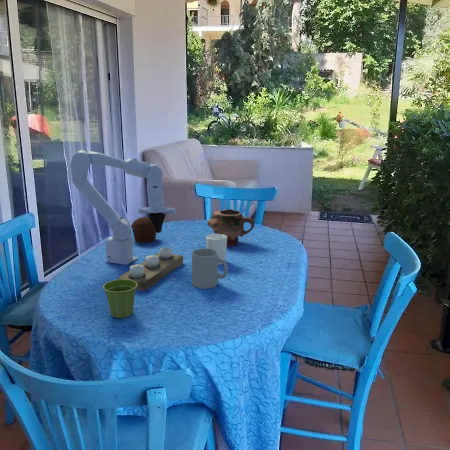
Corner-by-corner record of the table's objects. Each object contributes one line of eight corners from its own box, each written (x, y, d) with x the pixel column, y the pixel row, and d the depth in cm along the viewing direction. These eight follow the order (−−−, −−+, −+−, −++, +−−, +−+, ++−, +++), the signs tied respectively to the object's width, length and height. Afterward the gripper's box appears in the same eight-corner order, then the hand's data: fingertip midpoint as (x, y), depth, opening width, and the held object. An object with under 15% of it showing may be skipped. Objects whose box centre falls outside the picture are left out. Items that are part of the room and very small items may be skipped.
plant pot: (107, 306, 131) (105, 279, 129) (140, 305, 132) (139, 278, 130) (101, 321, 122) (99, 292, 120) (136, 320, 123) (135, 291, 121)
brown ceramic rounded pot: (254, 240, 197) (255, 209, 194) (253, 248, 186) (254, 216, 182) (209, 238, 199) (209, 207, 195) (205, 247, 187) (205, 214, 184)
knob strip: (117, 286, 146) (117, 277, 145) (159, 259, 171) (159, 251, 170) (144, 291, 142) (144, 281, 142) (183, 263, 168) (183, 255, 167)
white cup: (224, 266, 165) (224, 240, 162) (203, 264, 167) (203, 238, 164) (228, 259, 172) (229, 234, 170) (208, 257, 174) (208, 233, 171)
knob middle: (143, 266, 155) (143, 257, 154) (149, 262, 159) (149, 254, 158) (154, 268, 153) (154, 259, 152) (161, 264, 157) (160, 255, 156)
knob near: (127, 276, 146) (127, 267, 145) (134, 272, 150) (134, 263, 149) (139, 278, 144) (139, 269, 143) (146, 274, 148) (146, 264, 147)
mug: (188, 287, 146) (188, 255, 143) (196, 277, 154) (196, 247, 151) (224, 291, 143) (224, 258, 140) (230, 281, 151) (231, 250, 148)
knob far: (157, 257, 164) (157, 249, 163) (163, 254, 168) (163, 246, 167) (168, 259, 162) (168, 250, 161) (174, 255, 166) (173, 247, 165)
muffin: (145, 235, 203) (144, 213, 200) (163, 239, 197) (163, 217, 194) (125, 241, 194) (124, 218, 191) (144, 246, 188) (143, 222, 185)
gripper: (133, 199, 165) (136, 234, 169) (169, 199, 161) (172, 236, 165) (141, 195, 171) (145, 229, 175) (176, 195, 167) (179, 230, 171)
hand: (158, 232), depth 170 cm, fingers closed
